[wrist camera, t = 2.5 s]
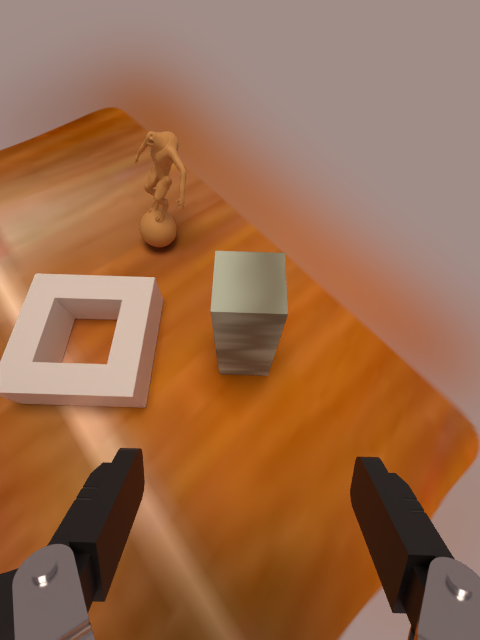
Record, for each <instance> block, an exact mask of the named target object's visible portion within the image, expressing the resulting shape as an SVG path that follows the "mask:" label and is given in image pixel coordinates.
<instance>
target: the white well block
mask: <svg viewBox="0 0 480 640" xmlns="http://www.w3.org/2000/svg"><path fill="white" fill-rule="evenodd" d="M162 306H163V297H162V295H161V292H160V290H159V287H158V284H157V282H156V279H155V277H126V276H95V275H64V274H35V276H34V279H33V281H32V284H31V286H30V289H29V291H28V294H27V296H26V299H25V301H24V304H23V306H22V309H21V311H20V314H19V316H18V319H17V321H16V324H15V326H14V329H13V331H12V334H11V336H10V339H9V341H8V344H7V346H6V349H5V351H4V354H3V356H2V359H1V361H0V397H3V398H6V399H9V400H12V401H14V402H17V403H20V404H48V405H79V406H110V407H141V408H146V404H147V398H148V392H149V386H150V379H151V373H152V367H153V361H154V355H155V349H156V343H157V337H158V331H159V324H160V318H161V312H162ZM75 318H76V319H107V320H117V324H116V329H115V333H114V337H113V341H112V346H111V350H110V354H109V359H108V363H107V364H79V363H62V360H63V356H64V353H65V350H66V347H67V343H68V340H69V337H70V333H71V330H72V327H73V324H74V320H75Z"/></svg>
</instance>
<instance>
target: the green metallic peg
mask: <svg viewBox="0 0 480 640" xmlns="http://www.w3.org/2000/svg"><path fill="white" fill-rule="evenodd" d="M287 315H288V308H287V287H286V266H285V253H267V252H236V251H216V252H215V264H214V276H213V288H212V301H211V318H212V325H213V332H214V339H215V346H216V353H217V361H218V368H219V374H232V375H262V376H268V374H269V371H270V368H271V365H272V362H273V359H274V356H275V352H276V349H277V346H278V343H279V340H280V337H281V334H282V331H283V328H284V324H285V321H286V318H287Z"/></svg>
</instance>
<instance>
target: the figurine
mask: <svg viewBox="0 0 480 640" xmlns="http://www.w3.org/2000/svg"><path fill="white" fill-rule="evenodd" d="M147 145H148V146H150V147H151V150H150V152H151V156H152V159H153V161H154V162H155V164H153V166H152V170H151V174H150V176H149V178H148V181H147V183H146V184H145V186H144V188H145V190H146V191H147V192H148V193H149V194H151V195H153V196H154V199H155V203H154V205H153V207H152V208H150V209H149V211H148V212H146V213H145V214H144V215H143V216H142V218H141V220H140V223H139V230H140V234H141V236H142V238H143V239H144V240H145V242H147V243H148V244H149V245H151V246H154V247H164V246H167V245H169V244H170V243H171V242H172V241H173V240H174V238H175V236H176V233H177V227H176V223H175V221H174V219H173V217H172V216H171V215H170V214H169V213H167V209H168V200H167V199H164V197H165V195H166V193H167V191H168V190H169V188H170V186H171V184H172V179H171V178H170V177H168V174H169V171H170V169H171V165H172V163H173V162H174V164H175V165H176V167H177V168H178V169H179V171H180V198H179V199H178V200H177V201H176V202H179V203H178V206H177V208H178V207H179V205H180V209H181V207H182V206H183V208H184V192H185V181H186V169H185V167H184V165H183V163H182V161H181V160H180V158H179V156H178V153H177V151H178V140H177V138H176V136H175V135H174V134H173V133H171V132H169V131H165V132H160V133H156V132H153V131H149V132H148V134H147V136H146V138H145V140H144V142H143V144H142V145H141V146H140V148H139V150H138V152H137V155H136V159H135V163H136V162H138V158H139V155H140V154H141V153H142V152H143V151H144V150H145V148H146V147H147ZM154 187H156V189H153V188H154ZM176 202H175V203H176ZM159 204H161V205H163V209H162V210H159V209H158V207H159Z"/></svg>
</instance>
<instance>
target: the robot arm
mask: <svg viewBox="0 0 480 640" xmlns="http://www.w3.org/2000/svg"><path fill="white" fill-rule="evenodd" d="M143 492H144V468H143V455H142V450H141V449H139V448H120V449H119V450H118V452H117V454H116V455H115V457H114V459H113V461H112V463H104V462H103V463H102V464H101V465H100V466H99V467H98V468H96V469H95V470H94V471H93V472H92V473H91V474H90V476H89V477H88V479H87V481H86V482H85V484H84V486H83V489H81V491H80V492H79V494H78V496H77V498H76V500H75V501H74V502H73V504H72V506H71V507H70V509H69V511H68V512H67V514H66V516H65V517H64V519H63V521H62V522H61V524H60V526H59V527H58V529H57V531H56V532H55V534H54V536H53V537H52V539H51V541H50V542H49V544H48V545H47V546H46V547H44V548H41V549H40V550H38V551H36V552H35V553H33V554H32V555H31V556H29V557H28V558H27V559H26V560H25V561H24V562H23V563H22V565H21V566H20V567H19V568H18V569H15V570H12V571H9V572H6V573H2V574H0V640H95V639H94V635H93V631H92V627H91V624H90V622H89V618H88V612H89V609H90V607H91V604H92V601H99V602H105V599H106V597H107V594H108V591H109V588H110V586H111V583H112V580H113V577H114V575H115V572H116V569H117V566H118V563H119V561H120V558H121V555H122V552H123V550H124V547H125V544H126V541H127V539H128V536H129V533H130V530H131V528H132V525H133V522H134V519H135V517H136V514H137V511H138V508H139V506H140V503H141V500H142V497H143ZM350 496H351V503H352V507H353V510H354V512H355V515H356V518H357V520H358V523H359V526H360V528H361V531H362V533H363V536H364V539H365V541H366V544H367V547H368V549H369V552H370V555H371V557H372V560H373V562H374V565H375V568H376V570H377V573H378V576H379V578H380V581H381V583H382V586H383V589H384V591H385V594H386V596H387V599H388V602H389V604H390V607H391V609H392V612H393V613H406V614H407V616H408V618H409V621H410V623H411V628H410V631H409V636H408V640H480V577H479V576H478V575H477V574H476V573H475V572H474V571H473V570H472V569H470V568H469V567H467V566H466V565H464V564H463V563H461V562H459V561H457V560H455V559H454V557H453V556H452V554H451V553H450V551H449V550H448V548H447V546H446V545H445V543H444V541H443V540H442V538H441V537H440V535H439V533H438V532H437V530H436V529H435V527H434V525H433V524H432V522H431V521H430V519H429V517H428V516H427V514H426V513H424V509H423V508H422V506H421V504H420V503H419V501H417V498H416V496H415V495H414V493H413V492H412V490H411V488H410V487H409V485H408V484H407V483H406V482H405V481H403V480H402V479H401V478H400V477H399V476H398V475H397V474H396V473H388V471H387V469H386V468H385V466H384V464H383V462H382V461H381V459H380V458H378V457H357V458H356V461H355V466H354V472H353V477H352V483H351V489H350Z"/></svg>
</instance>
